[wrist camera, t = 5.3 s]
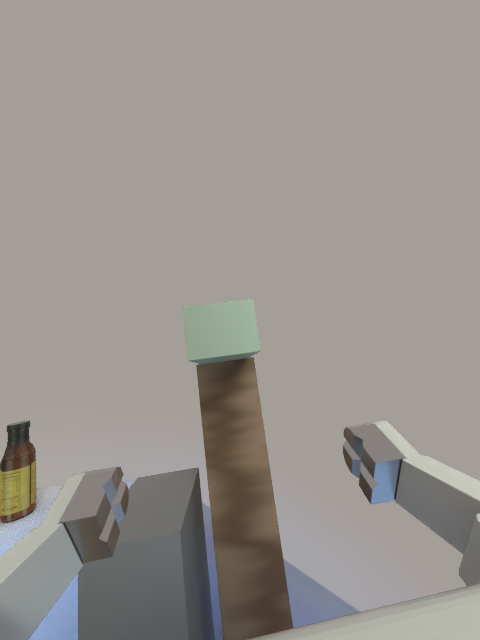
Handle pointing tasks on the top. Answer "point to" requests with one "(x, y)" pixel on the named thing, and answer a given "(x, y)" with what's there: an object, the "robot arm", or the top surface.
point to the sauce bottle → (17, 474)
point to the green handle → (221, 331)
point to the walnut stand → (242, 503)
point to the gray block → (152, 568)
